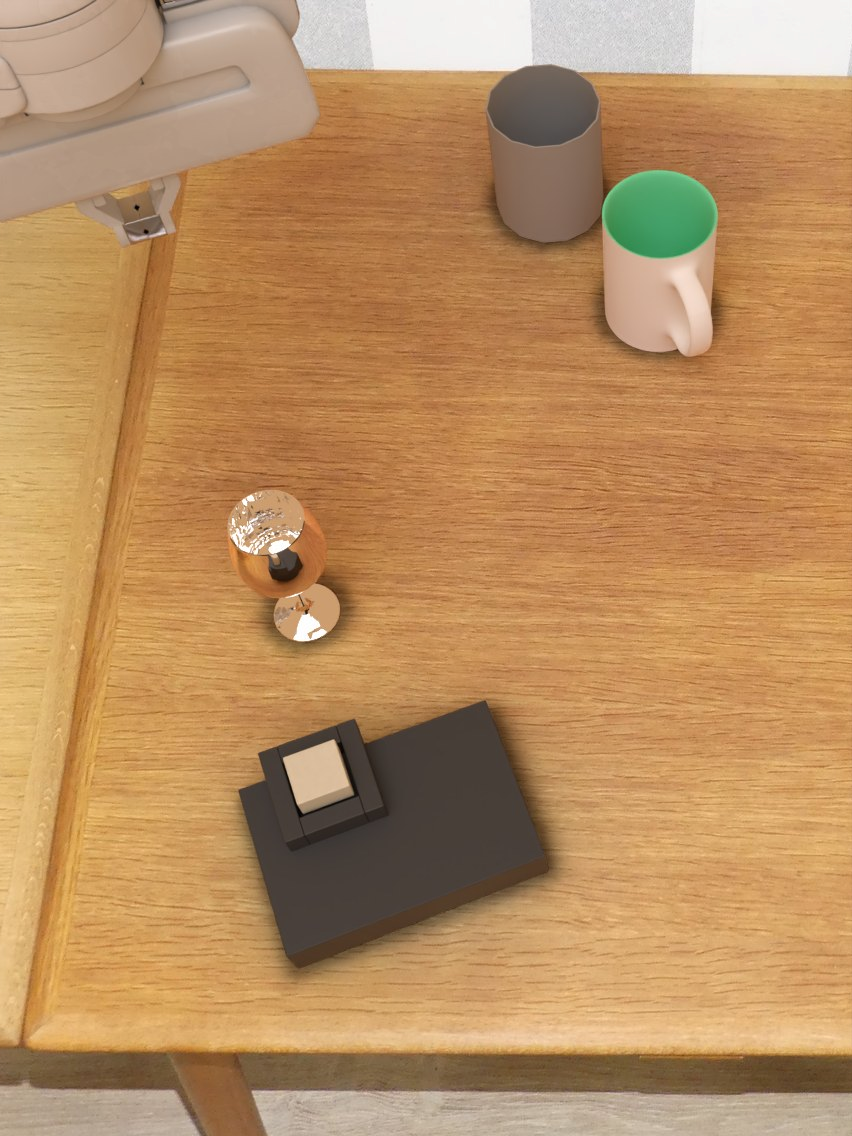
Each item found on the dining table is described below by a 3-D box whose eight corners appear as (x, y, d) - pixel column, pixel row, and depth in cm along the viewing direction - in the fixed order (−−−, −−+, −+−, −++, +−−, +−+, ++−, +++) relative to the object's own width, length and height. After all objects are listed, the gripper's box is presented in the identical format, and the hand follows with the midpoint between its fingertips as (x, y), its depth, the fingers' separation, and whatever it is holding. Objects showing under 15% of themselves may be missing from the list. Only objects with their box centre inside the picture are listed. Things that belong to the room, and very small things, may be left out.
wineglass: (365, 621, 96) (332, 532, 86) (289, 666, 95) (245, 581, 84) (323, 560, 99) (285, 466, 88) (248, 603, 97) (200, 512, 86)
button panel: (548, 871, 89) (544, 846, 84) (298, 969, 86) (279, 949, 81) (484, 704, 94) (477, 673, 89) (245, 792, 91) (225, 764, 86)
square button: (355, 795, 86) (349, 785, 85) (303, 814, 86) (297, 805, 84) (339, 749, 87) (334, 738, 86) (288, 767, 87) (282, 757, 85)
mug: (753, 367, 107) (765, 275, 97) (656, 406, 105) (658, 316, 96) (681, 253, 111) (685, 155, 102) (587, 289, 110) (582, 193, 100)
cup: (564, 258, 111) (558, 164, 102) (477, 214, 113) (463, 118, 104) (622, 188, 114) (621, 92, 105) (537, 147, 116) (529, 48, 107)
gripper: (265, -93, 65) (324, 134, 77) (-201, 24, 61) (-61, 243, 74) (303, -2, 63) (358, 218, 75) (-181, 125, 59) (-39, 335, 71)
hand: (147, 231), depth 74 cm, fingers closed
